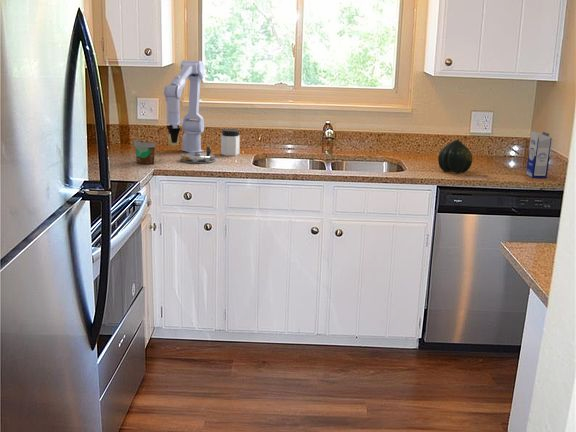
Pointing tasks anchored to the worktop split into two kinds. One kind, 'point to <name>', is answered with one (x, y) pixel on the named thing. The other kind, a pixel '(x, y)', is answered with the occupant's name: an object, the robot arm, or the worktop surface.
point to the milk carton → (539, 155)
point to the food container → (144, 152)
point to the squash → (455, 157)
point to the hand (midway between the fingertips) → (173, 141)
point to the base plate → (198, 162)
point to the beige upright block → (171, 141)
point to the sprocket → (198, 156)
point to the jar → (230, 142)
